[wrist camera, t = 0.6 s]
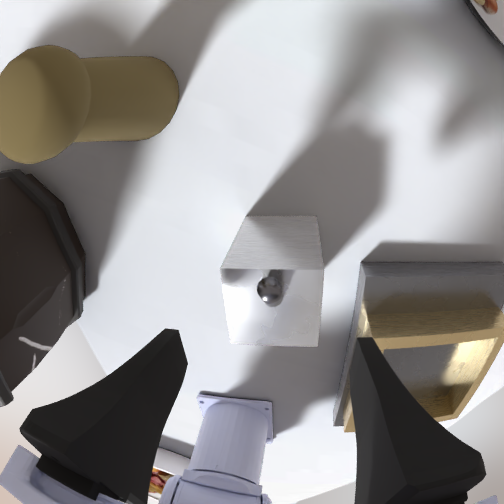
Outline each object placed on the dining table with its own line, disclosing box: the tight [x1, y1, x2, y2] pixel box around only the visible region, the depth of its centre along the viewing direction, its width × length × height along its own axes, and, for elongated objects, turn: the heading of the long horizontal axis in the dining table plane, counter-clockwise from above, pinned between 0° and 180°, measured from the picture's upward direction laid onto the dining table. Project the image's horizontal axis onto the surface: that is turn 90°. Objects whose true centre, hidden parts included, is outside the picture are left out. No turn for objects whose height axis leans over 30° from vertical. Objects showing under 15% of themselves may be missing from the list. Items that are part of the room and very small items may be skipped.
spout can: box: [220, 216, 324, 347], centre depth 17 cm, size 5×5×8 cm
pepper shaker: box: [0, 45, 179, 164], centre depth 12 cm, size 6×6×11 cm
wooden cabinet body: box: [333, 262, 504, 432], centre depth 21 cm, size 18×13×4 cm
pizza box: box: [148, 447, 190, 500], centre depth 42 cm, size 30×30×8 cm
